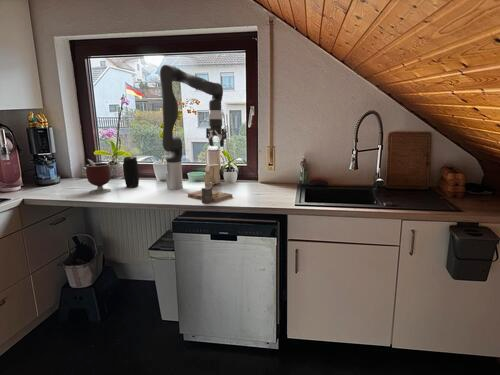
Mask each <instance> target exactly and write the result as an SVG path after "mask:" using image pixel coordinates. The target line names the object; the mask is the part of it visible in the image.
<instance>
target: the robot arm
mask: <svg viewBox="0 0 500 375" xmlns="http://www.w3.org/2000/svg"><path fill="white" fill-rule="evenodd" d="M159 79H160V85H161V98H162V100H161V101H162V120H163V121H162V122H163V123H162V124H163V126H162V148H163V150H164V151H166V153H167V152H168V153H170V154H169V155H168V156H167V157H166V159H165V160H166V188H167V189H168V190H171V191H172V190H174V191H175V190H181V189H183V186H184V185H183V184H184V183H183V167H182V166H183V165H182V159H183V142H182V141H183V140H182V139H181V138H180V137H179V136H178V135H173V132H174V131H173V130H174V126H175V124H176V122H177V119H178V117H179V104H178V100H177V98H176V96H175V93H174V89H173V82H175V83H176V82H177V83H181V84H184V85H187V86H189V87H190V88H192V89H195V90H198V91H201V92H203V93H205V94H207V95H210V96H212V97H211V99H210V100H209V102H208V103H209V104H208V107H209V108H208V109H209V112H208V120H209V121H208V123H209V124H208V125H209V127H206V128H205V132H206V133H205V134H206V137H205V138H206V139H208V144H209V146H211V147H212V146H214V137H218V139H219V146H220V147H224V145H225V141H224V140H226V139H227V129H226V128H222V127H223V113H222V111H223V110H222V100H223V94H224V89H223V85H221V83H220V82H214V81H213V82H212V81H210V80H207V79H205V78H203V77H200V76H197V75H194V74H191V73H187V72H186V71H183V70H182V69H180V68H179V67H176V66H174V65H170V64H163V65H162V66H160V70H159Z"/></svg>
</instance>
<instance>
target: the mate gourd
mask: <svg viewBox="0 0 500 375" xmlns="http://www.w3.org/2000/svg"><path fill="white" fill-rule="evenodd" d="M87 161H88V162H89V164H86V165H85V175H86V178H87V182H88V183H90V184H91V185H92V186H95V187H96V188H95V189H91V190H90V191H89V193H90V194H92V195H100V194H108V193H111V192H112V189H110V188H104V185H106V184H108V183H109V182H110V180H111V177H112V176H111V166H110V164H109V163H108V162H107V163H106V162H98V163H97V162H94V161H93V160H91V159H89V158H87Z"/></svg>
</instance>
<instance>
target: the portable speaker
mask: <svg viewBox="0 0 500 375" xmlns="http://www.w3.org/2000/svg"><path fill="white" fill-rule="evenodd" d="M138 163H139V162H138V160H137V156H134V157H133V156H124V158H123V164H122V165H123V166H122V167H123V178H124V181H125V185H126V186H125V187H126V188H128V187H130V188H132V189H133V188H137V187H138V186H140V185H139V184H140V171H139V170H140V169H139V164H138Z"/></svg>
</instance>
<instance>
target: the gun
mask: <svg viewBox="0 0 500 375" xmlns="http://www.w3.org/2000/svg"><path fill="white" fill-rule="evenodd" d="M204 172H205V176H204V188H206V187H208V188H213V187H212V186H214V185H217V184H220V183H221V181H220V163H213V164H208V165H206V166H205V169H204Z"/></svg>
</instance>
